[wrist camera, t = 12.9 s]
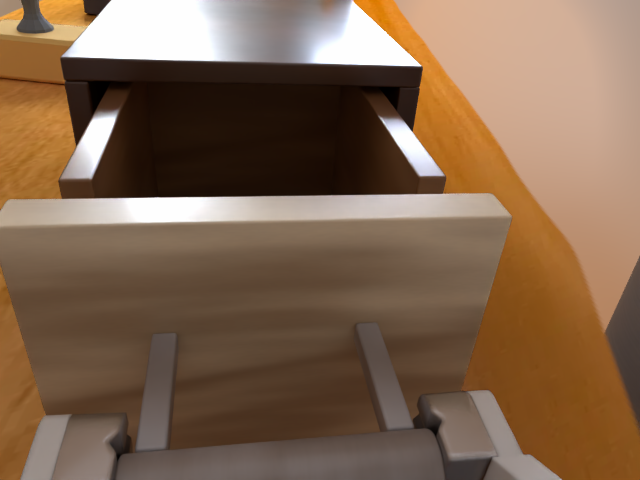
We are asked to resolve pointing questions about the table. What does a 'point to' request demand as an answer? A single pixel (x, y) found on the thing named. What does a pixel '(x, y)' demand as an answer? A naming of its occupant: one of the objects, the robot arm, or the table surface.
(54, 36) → the rubber stamp
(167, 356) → the drawer
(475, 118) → the table surface
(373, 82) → the cabinet
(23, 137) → the table surface
